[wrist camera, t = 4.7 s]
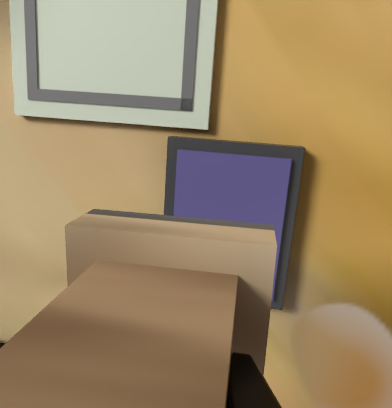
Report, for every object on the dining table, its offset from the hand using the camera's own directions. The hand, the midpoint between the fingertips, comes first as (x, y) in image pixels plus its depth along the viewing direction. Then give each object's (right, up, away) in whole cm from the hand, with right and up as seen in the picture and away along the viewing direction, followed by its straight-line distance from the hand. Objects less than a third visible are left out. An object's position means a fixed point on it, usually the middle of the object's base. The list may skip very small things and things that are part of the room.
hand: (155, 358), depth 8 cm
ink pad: (+3, +2, +12) cm, 13 cm away
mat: (-3, +13, +11) cm, 18 cm away
